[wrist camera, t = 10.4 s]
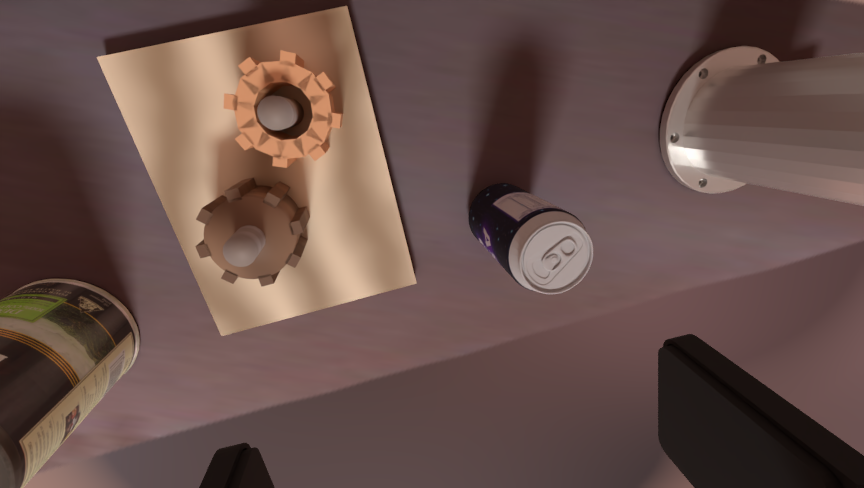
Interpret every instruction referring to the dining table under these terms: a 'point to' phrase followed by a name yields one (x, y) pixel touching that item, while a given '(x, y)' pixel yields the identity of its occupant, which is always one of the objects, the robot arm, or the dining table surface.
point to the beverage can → (531, 238)
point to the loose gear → (264, 83)
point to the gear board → (265, 172)
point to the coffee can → (56, 367)
